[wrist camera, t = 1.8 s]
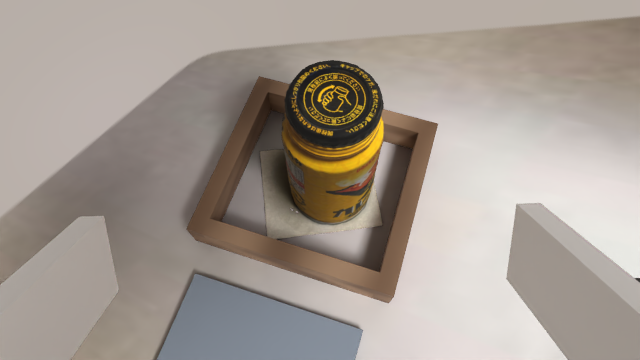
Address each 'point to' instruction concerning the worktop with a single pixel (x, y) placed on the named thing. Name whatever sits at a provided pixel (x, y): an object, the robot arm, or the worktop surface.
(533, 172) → the worktop surface
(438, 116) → the worktop surface
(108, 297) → the robot arm
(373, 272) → the pocket
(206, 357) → the mat
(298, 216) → the condiment
